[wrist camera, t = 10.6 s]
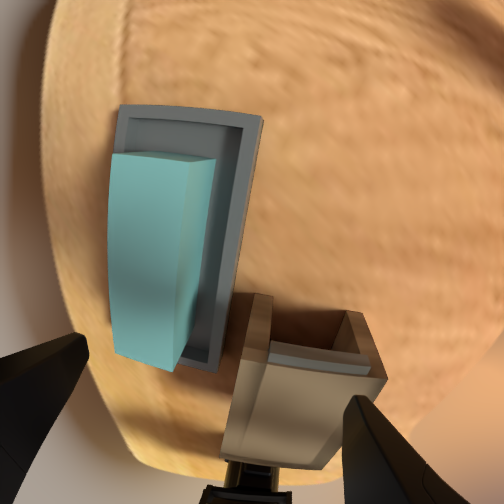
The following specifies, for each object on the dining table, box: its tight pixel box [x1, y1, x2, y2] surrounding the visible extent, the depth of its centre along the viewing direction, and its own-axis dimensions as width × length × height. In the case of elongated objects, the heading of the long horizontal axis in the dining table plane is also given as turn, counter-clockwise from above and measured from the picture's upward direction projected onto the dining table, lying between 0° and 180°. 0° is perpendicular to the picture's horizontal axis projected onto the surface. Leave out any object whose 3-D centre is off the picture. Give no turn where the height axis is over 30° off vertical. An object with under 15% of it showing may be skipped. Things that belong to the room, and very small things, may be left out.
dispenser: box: [219, 293, 388, 470], centre depth 18 cm, size 12×8×7 cm
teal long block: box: [107, 151, 216, 372], centre depth 16 cm, size 12×4×5 cm, turn 170°
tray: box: [113, 105, 264, 373], centre depth 18 cm, size 18×9×2 cm, turn 170°
